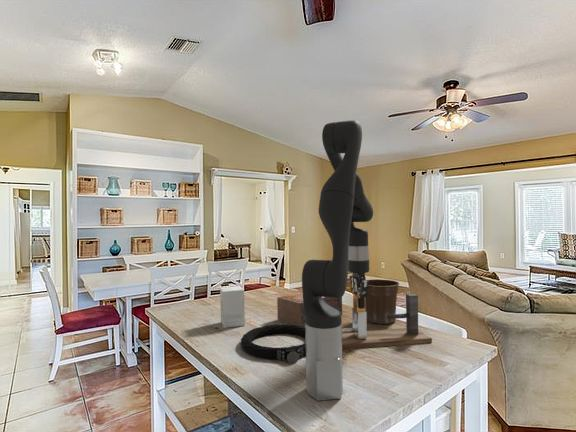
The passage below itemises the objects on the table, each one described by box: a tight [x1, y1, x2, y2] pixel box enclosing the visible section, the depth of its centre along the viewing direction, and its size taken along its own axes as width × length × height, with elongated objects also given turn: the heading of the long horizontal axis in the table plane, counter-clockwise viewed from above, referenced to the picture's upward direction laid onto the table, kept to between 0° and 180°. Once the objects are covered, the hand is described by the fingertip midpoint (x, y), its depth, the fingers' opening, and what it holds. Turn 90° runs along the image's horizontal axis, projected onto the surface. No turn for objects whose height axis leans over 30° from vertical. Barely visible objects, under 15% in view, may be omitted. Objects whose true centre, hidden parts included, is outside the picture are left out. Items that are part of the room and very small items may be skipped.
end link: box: [342, 293, 368, 339], centre depth 122 cm, size 6×9×15 cm, turn 98°
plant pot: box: [365, 279, 400, 325], centre depth 147 cm, size 16×16×16 cm
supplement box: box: [219, 285, 246, 329], centre depth 145 cm, size 9×9×15 cm
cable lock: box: [240, 323, 306, 364], centre depth 120 cm, size 28×4×30 cm
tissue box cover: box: [276, 291, 343, 327], centre depth 153 cm, size 26×14×10 cm, turn 131°
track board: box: [342, 293, 433, 350], centre depth 124 cm, size 12×34×16 cm, turn 98°
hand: (359, 306), depth 123 cm, fingers closed on end link, 4 cm apart
